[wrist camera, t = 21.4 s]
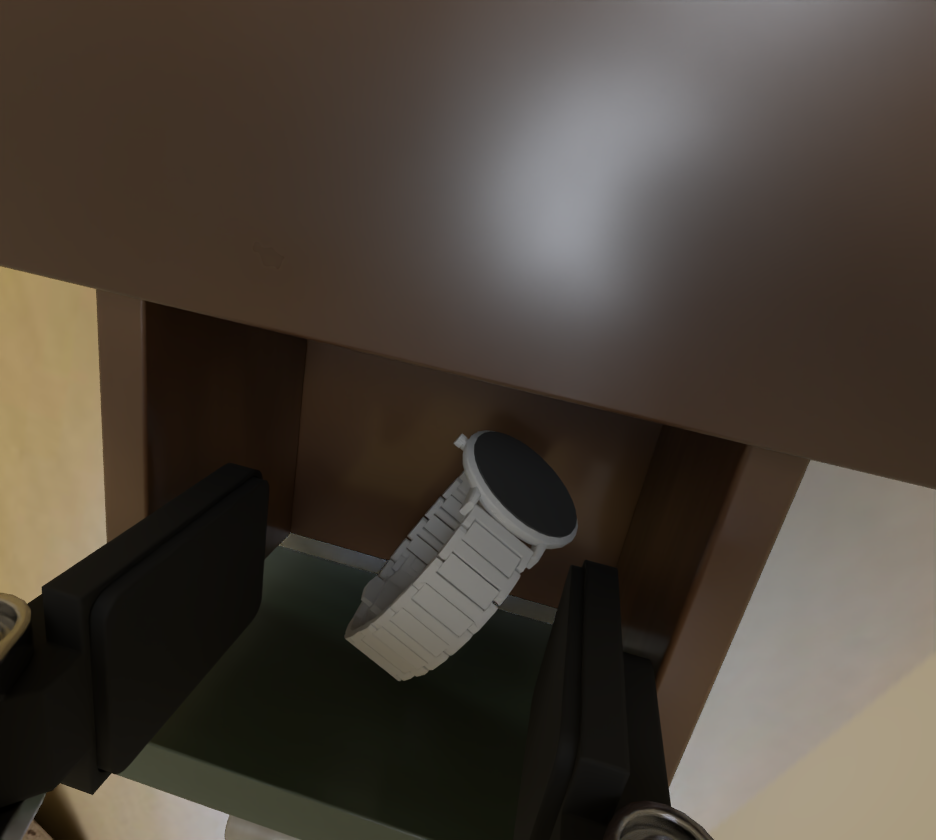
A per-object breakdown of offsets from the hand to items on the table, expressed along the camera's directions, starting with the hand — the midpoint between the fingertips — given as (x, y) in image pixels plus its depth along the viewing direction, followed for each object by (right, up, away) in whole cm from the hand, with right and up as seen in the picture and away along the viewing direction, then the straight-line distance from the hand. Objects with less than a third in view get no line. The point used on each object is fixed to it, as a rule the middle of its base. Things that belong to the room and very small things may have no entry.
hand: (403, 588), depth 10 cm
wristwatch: (+1, +1, +4) cm, 5 cm away
